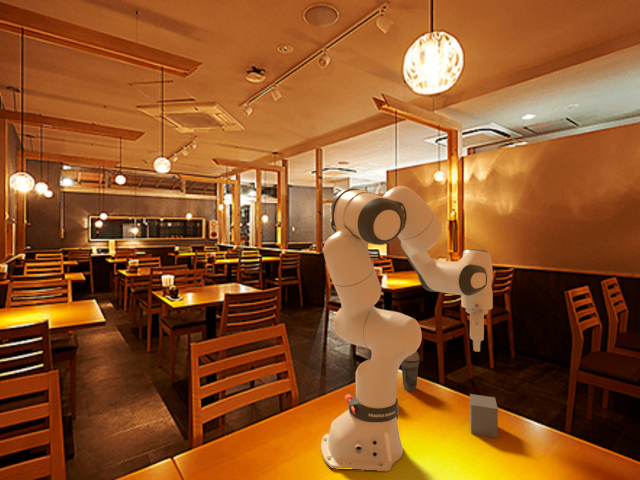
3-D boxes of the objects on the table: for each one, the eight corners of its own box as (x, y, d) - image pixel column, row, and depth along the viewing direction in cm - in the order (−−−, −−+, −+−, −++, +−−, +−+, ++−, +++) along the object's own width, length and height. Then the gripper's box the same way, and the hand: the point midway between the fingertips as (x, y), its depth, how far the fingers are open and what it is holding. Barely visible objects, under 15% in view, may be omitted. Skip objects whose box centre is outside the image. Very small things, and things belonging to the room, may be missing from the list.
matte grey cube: (497, 438, 100) (497, 409, 99) (471, 433, 102) (471, 404, 102) (494, 425, 106) (494, 397, 106) (469, 420, 109) (469, 393, 108)
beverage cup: (420, 394, 126) (420, 339, 125) (400, 392, 128) (399, 339, 127) (419, 385, 133) (418, 333, 133) (399, 383, 135) (399, 332, 134)
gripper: (489, 310, 96) (489, 359, 97) (487, 295, 115) (487, 336, 116) (464, 308, 99) (464, 356, 100) (466, 294, 118) (466, 334, 118)
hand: (476, 345), depth 108 cm, fingers open, 8 cm apart
